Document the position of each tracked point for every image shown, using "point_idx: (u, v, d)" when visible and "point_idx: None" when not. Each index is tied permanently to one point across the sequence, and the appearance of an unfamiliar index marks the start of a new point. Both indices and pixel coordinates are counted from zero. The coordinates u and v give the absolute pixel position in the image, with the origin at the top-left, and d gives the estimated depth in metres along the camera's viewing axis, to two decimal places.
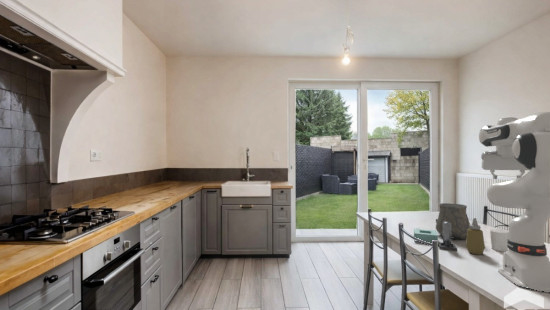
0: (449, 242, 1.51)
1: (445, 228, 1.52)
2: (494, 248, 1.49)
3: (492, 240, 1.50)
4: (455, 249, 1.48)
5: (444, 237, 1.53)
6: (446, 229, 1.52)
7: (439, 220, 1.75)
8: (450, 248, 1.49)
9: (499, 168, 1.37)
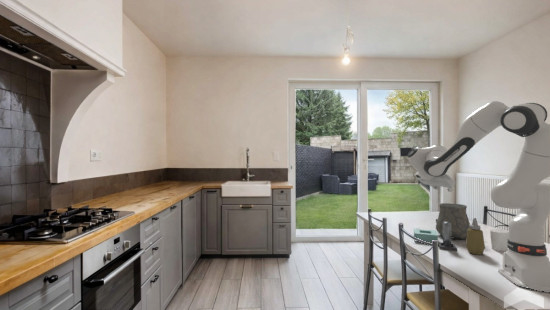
0: (449, 242, 1.51)
1: (445, 228, 1.52)
2: (494, 248, 1.49)
3: (492, 240, 1.50)
4: (455, 249, 1.48)
5: (444, 237, 1.53)
6: (446, 229, 1.52)
7: (439, 220, 1.75)
8: (450, 248, 1.49)
9: None
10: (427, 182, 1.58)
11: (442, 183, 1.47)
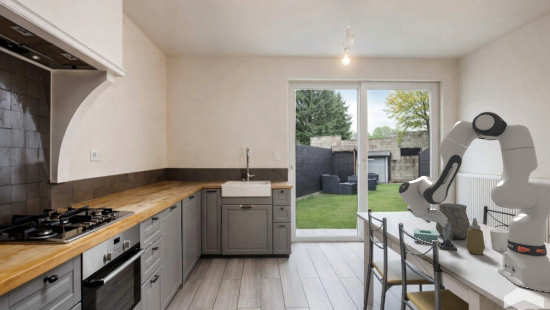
0: (449, 242, 1.51)
1: (445, 228, 1.52)
2: (494, 248, 1.49)
3: (492, 240, 1.50)
4: (455, 249, 1.48)
5: (444, 237, 1.53)
6: (446, 229, 1.52)
7: None
8: (450, 248, 1.49)
9: None
10: (419, 216, 1.54)
11: (434, 219, 1.44)
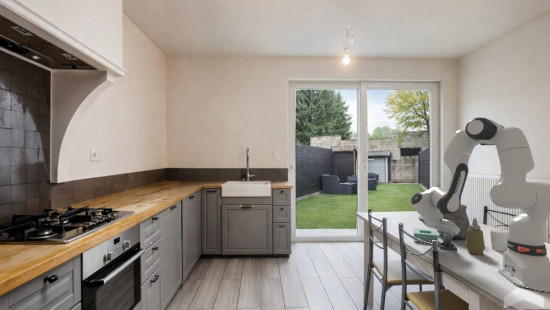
0: (449, 242, 1.51)
1: None
2: (494, 248, 1.49)
3: (492, 240, 1.50)
4: (455, 249, 1.48)
5: (444, 237, 1.53)
6: None
7: None
8: (450, 248, 1.49)
9: None
10: (431, 226, 1.56)
11: (447, 230, 1.46)
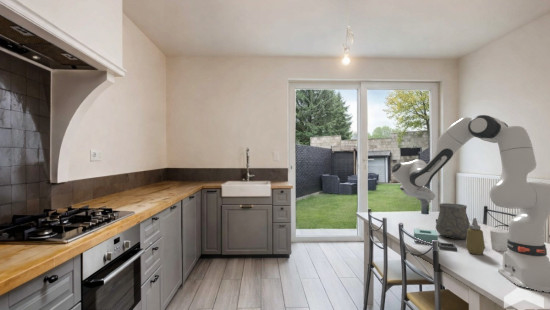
0: (426, 208, 1.66)
1: None
2: (494, 248, 1.49)
3: (492, 240, 1.50)
4: (455, 249, 1.48)
5: (422, 204, 1.67)
6: None
7: (439, 220, 1.75)
8: (450, 248, 1.49)
9: None
10: (411, 194, 1.71)
11: (423, 196, 1.61)
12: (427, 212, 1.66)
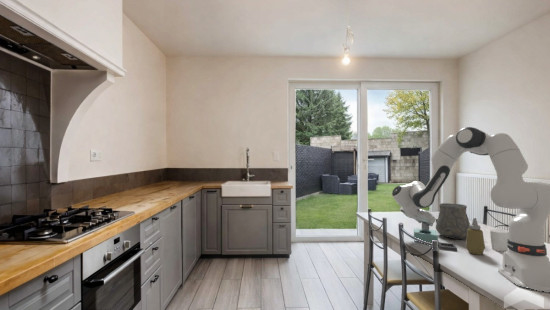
0: None
1: (423, 222, 1.66)
2: (494, 248, 1.49)
3: (492, 240, 1.50)
4: (455, 249, 1.48)
5: (422, 230, 1.67)
6: (424, 223, 1.66)
7: (439, 220, 1.75)
8: (450, 248, 1.49)
9: None
10: (411, 216, 1.71)
11: (424, 219, 1.60)
12: None
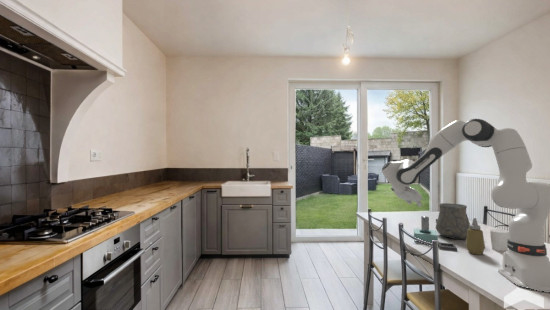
0: None
1: (423, 222, 1.66)
2: (494, 248, 1.49)
3: (492, 240, 1.50)
4: (455, 249, 1.48)
5: (422, 230, 1.67)
6: (424, 223, 1.66)
7: (439, 220, 1.75)
8: (450, 248, 1.49)
9: None
10: (401, 196, 1.70)
11: (411, 197, 1.60)
12: None
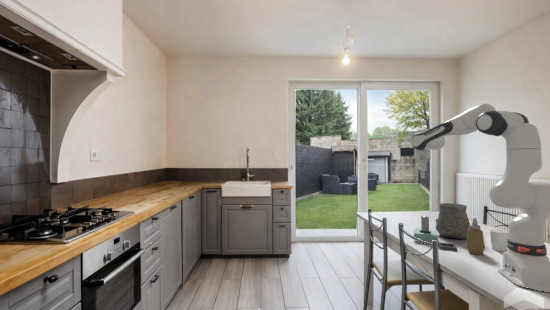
0: None
1: (423, 222, 1.66)
2: (494, 248, 1.49)
3: (492, 240, 1.50)
4: (455, 249, 1.48)
5: (422, 230, 1.67)
6: (424, 223, 1.66)
7: (439, 220, 1.75)
8: (450, 248, 1.49)
9: None
10: None
11: (419, 165, 1.68)
12: None
